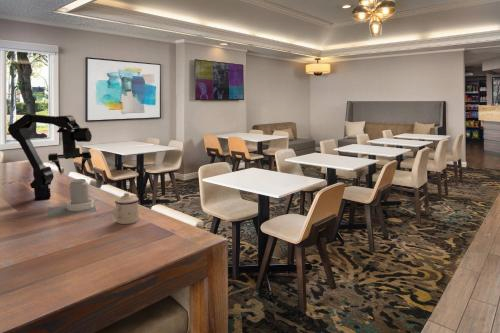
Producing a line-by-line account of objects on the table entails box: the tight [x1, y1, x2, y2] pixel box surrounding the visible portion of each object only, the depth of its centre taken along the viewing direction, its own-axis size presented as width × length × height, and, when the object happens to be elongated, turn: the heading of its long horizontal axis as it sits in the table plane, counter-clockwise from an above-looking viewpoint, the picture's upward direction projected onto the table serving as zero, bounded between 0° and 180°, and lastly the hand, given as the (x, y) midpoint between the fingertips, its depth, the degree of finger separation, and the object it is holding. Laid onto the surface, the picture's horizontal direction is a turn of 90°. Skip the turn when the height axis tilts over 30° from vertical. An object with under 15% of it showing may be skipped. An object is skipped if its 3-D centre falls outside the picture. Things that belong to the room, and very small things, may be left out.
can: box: [69, 178, 90, 204], centre depth 170 cm, size 8×8×12 cm
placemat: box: [47, 203, 97, 218], centre depth 168 cm, size 19×16×1 cm
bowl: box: [66, 197, 95, 211], centre depth 171 cm, size 11×11×3 cm
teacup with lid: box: [112, 192, 140, 225], centre depth 152 cm, size 12×9×12 cm
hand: (71, 173), depth 185 cm, fingers open, 9 cm apart
